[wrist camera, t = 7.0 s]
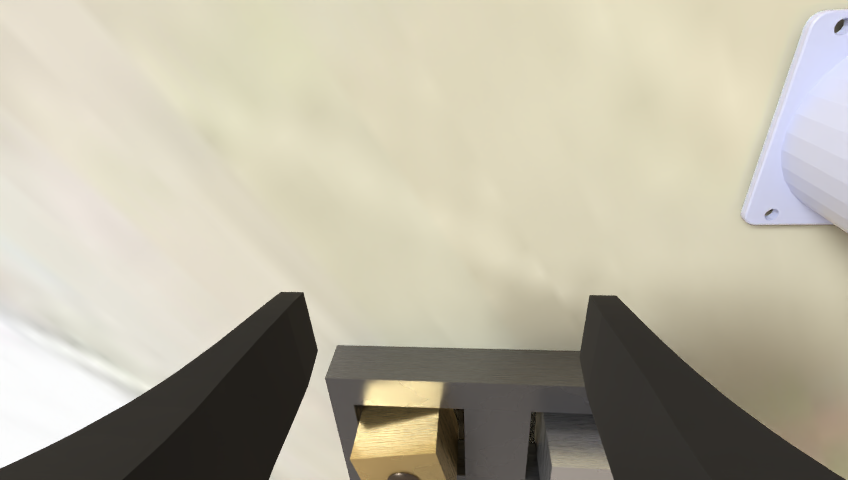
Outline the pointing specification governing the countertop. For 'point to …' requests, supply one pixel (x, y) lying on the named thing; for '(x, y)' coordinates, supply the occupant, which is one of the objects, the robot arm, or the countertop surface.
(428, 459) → the tan wooden block
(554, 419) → the zinc cube
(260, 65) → the countertop surface
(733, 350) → the countertop surface
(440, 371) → the grey square-hole board
